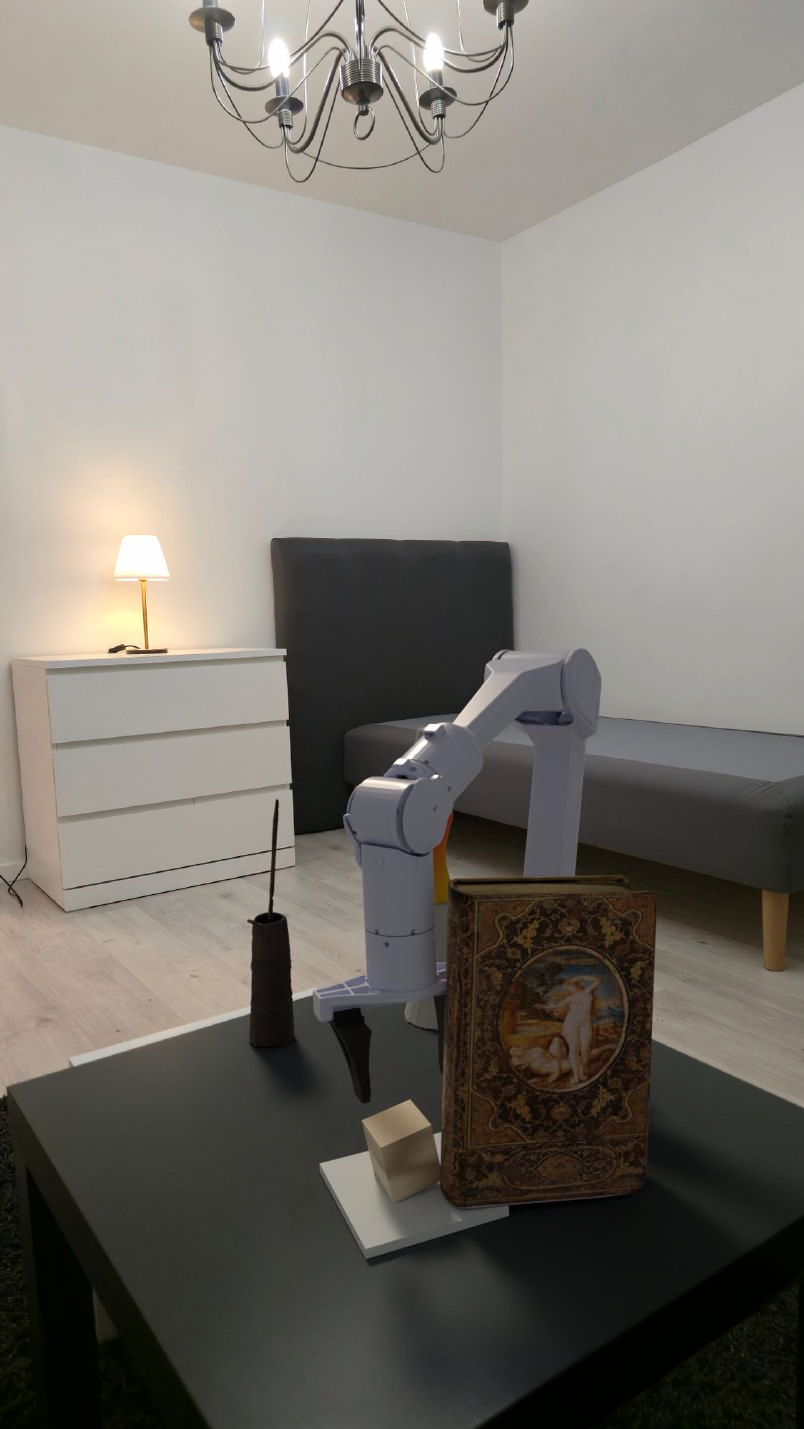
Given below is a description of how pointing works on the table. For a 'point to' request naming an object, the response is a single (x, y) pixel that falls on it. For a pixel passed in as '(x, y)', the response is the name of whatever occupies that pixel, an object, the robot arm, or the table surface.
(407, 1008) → the lava lamp
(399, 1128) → the birch block
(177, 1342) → the table surface
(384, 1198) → the pad
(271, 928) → the butter churn
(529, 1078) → the book
